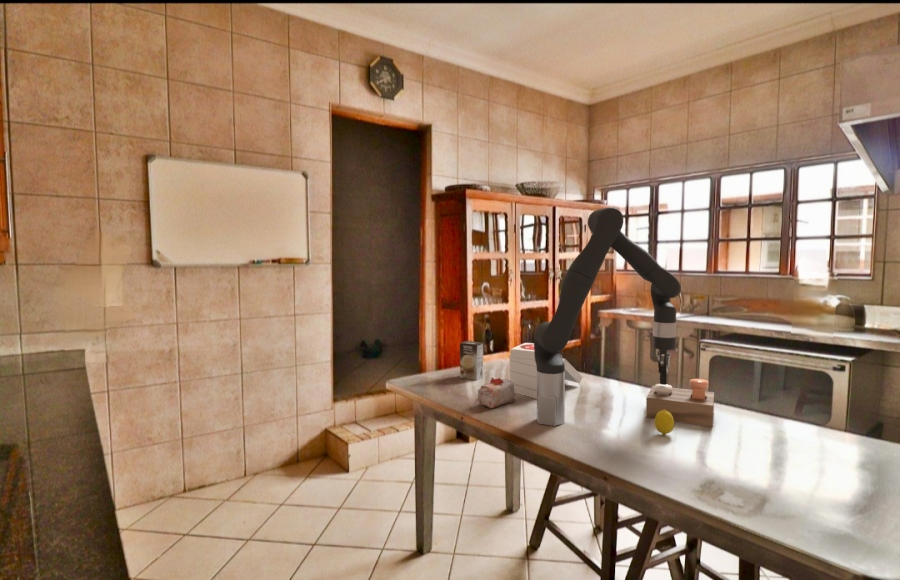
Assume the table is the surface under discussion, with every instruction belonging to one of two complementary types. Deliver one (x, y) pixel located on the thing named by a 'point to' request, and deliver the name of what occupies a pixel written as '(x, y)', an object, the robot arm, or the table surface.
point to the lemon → (664, 422)
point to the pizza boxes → (531, 370)
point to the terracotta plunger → (698, 388)
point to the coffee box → (471, 360)
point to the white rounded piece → (663, 389)
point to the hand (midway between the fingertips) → (663, 383)
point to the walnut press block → (682, 406)
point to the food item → (496, 393)
